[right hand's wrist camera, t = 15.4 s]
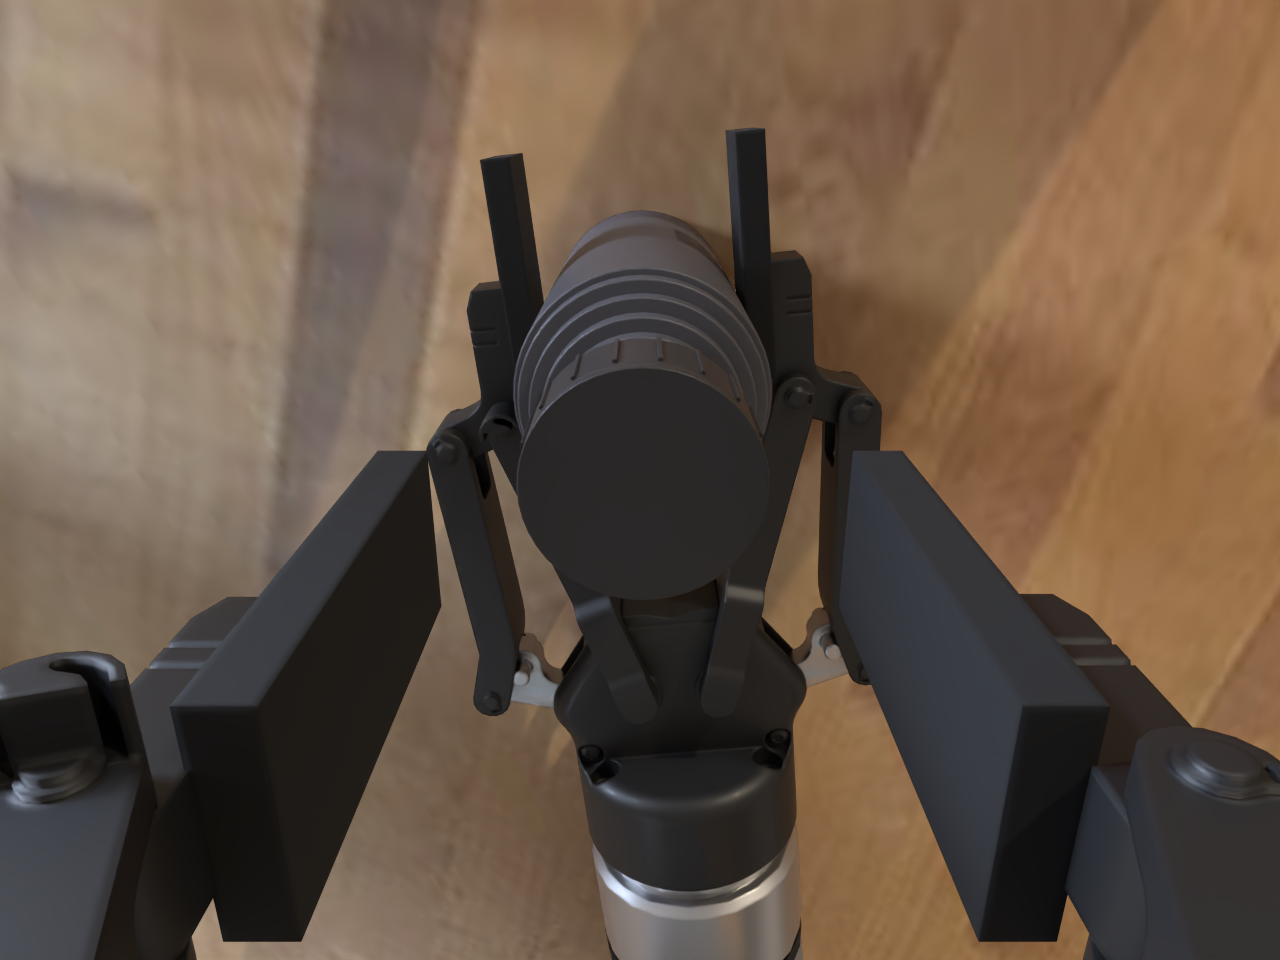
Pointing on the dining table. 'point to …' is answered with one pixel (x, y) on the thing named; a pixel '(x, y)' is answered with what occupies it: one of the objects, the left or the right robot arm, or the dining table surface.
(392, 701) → the right robot arm
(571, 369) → the cap
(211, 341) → the dining table surface
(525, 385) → the bottle
